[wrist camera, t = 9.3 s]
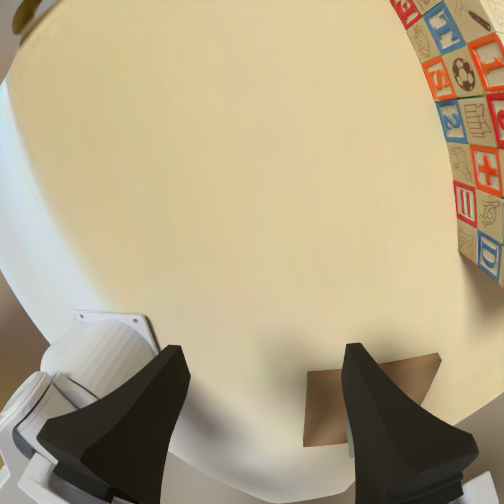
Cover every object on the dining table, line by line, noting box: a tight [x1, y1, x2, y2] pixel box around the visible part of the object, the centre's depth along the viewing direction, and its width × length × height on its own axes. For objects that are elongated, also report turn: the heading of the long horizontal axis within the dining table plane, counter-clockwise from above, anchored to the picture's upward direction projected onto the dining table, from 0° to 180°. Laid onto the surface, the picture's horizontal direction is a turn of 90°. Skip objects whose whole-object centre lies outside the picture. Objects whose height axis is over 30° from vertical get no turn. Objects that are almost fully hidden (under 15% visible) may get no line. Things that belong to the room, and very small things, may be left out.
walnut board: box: [303, 353, 442, 447], centre depth 24 cm, size 14×14×1 cm
